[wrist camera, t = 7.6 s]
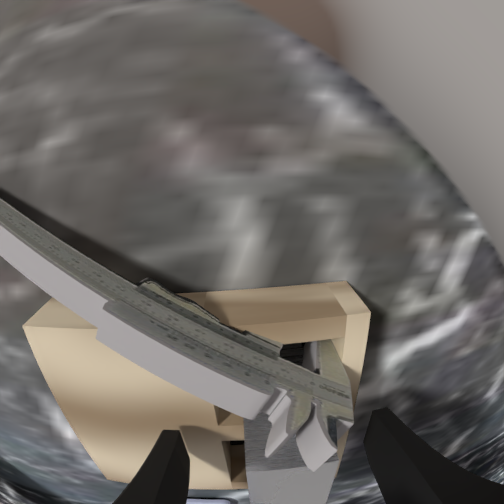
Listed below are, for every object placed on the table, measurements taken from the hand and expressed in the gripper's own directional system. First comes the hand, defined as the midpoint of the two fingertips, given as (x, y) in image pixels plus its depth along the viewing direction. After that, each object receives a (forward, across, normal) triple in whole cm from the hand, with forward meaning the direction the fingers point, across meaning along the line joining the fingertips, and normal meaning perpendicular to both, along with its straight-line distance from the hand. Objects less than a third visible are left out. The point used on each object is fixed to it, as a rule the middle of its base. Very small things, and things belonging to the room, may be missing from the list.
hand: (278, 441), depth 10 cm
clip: (+3, 0, +1) cm, 3 cm away
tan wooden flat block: (+3, +3, 0) cm, 4 cm away
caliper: (+3, +7, -8) cm, 11 cm away
